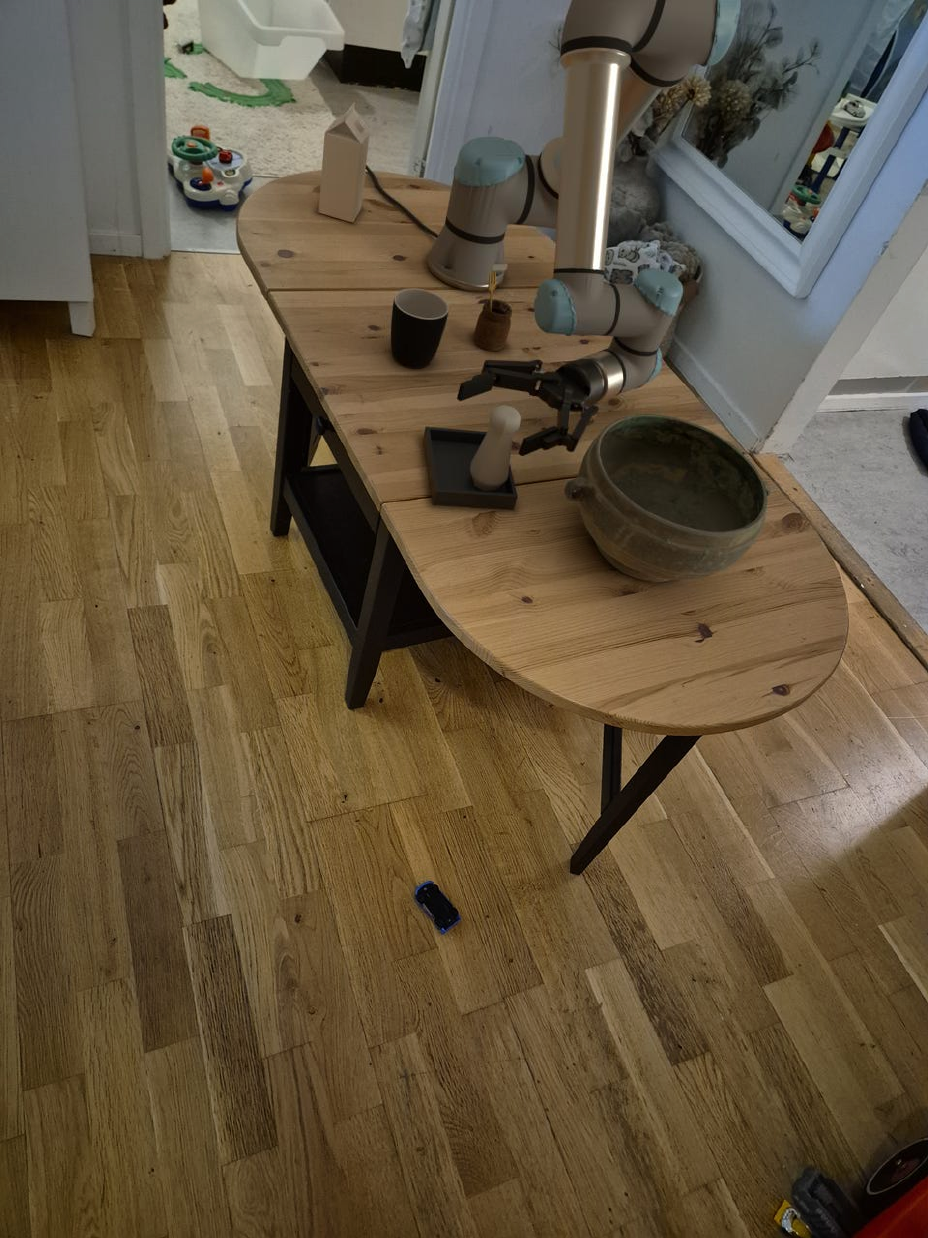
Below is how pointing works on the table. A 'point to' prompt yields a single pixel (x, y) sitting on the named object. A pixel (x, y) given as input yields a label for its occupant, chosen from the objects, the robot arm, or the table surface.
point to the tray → (460, 470)
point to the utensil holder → (493, 321)
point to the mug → (417, 326)
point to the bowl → (668, 498)
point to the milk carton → (344, 166)
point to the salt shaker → (495, 450)
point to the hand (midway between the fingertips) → (490, 419)
